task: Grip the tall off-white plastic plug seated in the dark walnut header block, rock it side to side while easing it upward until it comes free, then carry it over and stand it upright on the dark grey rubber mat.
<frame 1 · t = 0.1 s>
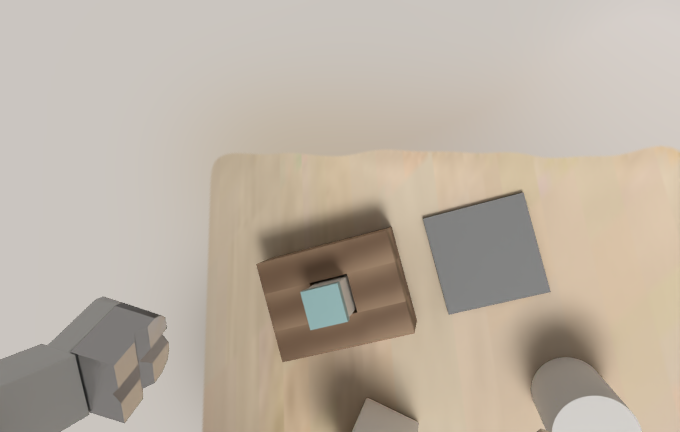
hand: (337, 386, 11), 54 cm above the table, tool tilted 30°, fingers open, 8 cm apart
mat: (485, 254, 63), on the table
header: (342, 288, 67), on the table
cup: (566, 390, 62), on the table
plug: (334, 296, 61), in the header
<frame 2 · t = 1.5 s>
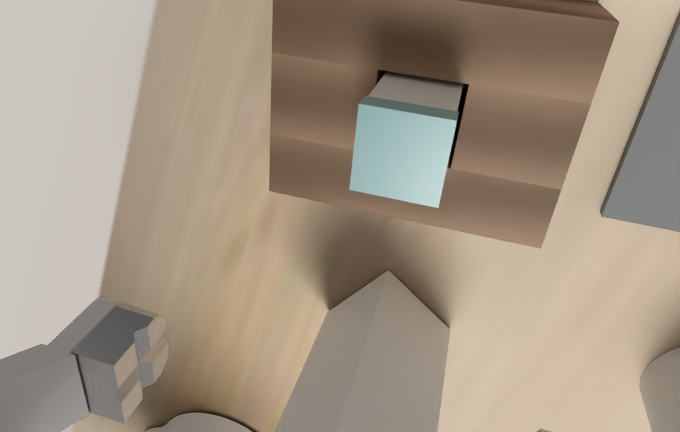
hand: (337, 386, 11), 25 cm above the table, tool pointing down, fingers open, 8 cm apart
milk carton: (388, 317, 42), on the table
header: (428, 88, 32), on the table
plug: (416, 117, 28), in the header
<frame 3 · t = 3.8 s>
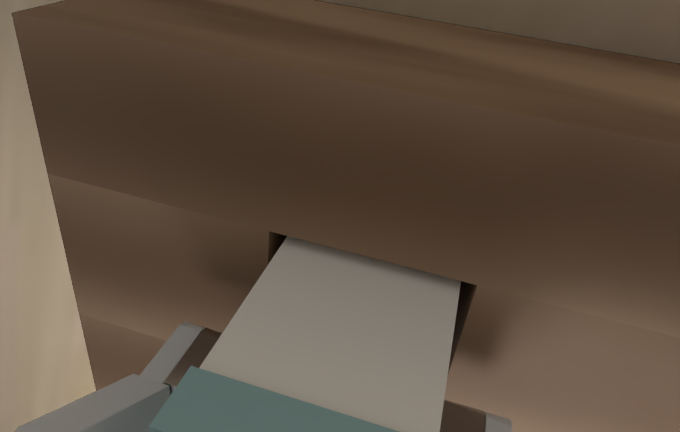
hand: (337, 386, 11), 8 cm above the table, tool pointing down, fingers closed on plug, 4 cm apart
header: (401, 209, 17), on the table
plug: (361, 319, 13), in the header, touching gripper
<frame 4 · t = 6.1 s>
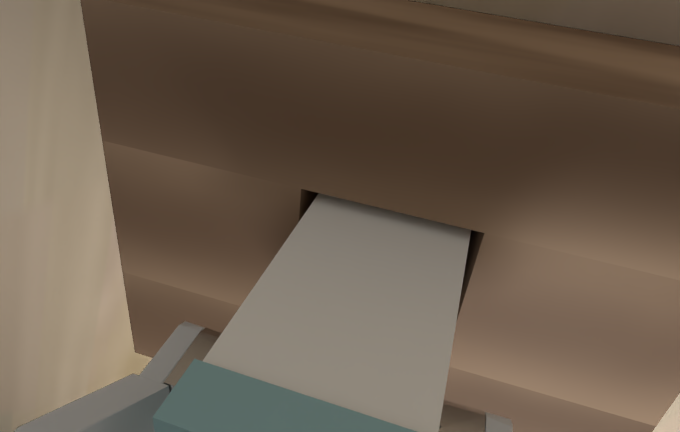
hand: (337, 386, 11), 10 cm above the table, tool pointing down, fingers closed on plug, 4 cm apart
header: (412, 181, 19), on the table
plug: (364, 316, 13), point 7 cm above the table, touching gripper
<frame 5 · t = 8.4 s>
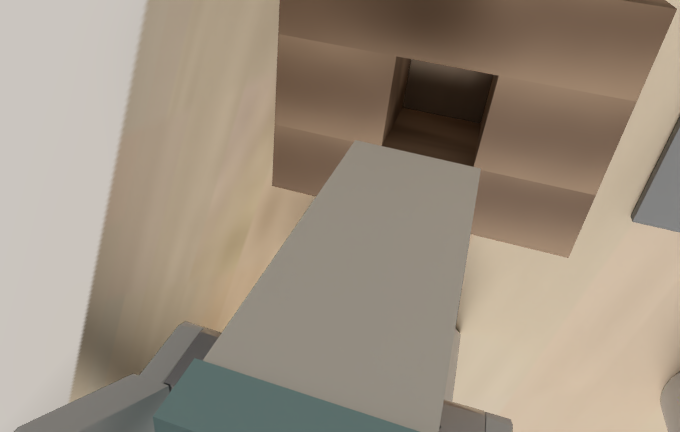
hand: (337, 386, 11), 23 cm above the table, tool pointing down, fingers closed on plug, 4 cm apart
milk carton: (395, 318, 40), on the table
header: (449, 77, 30), on the table
plug: (364, 316, 13), point 20 cm above the table, touching gripper
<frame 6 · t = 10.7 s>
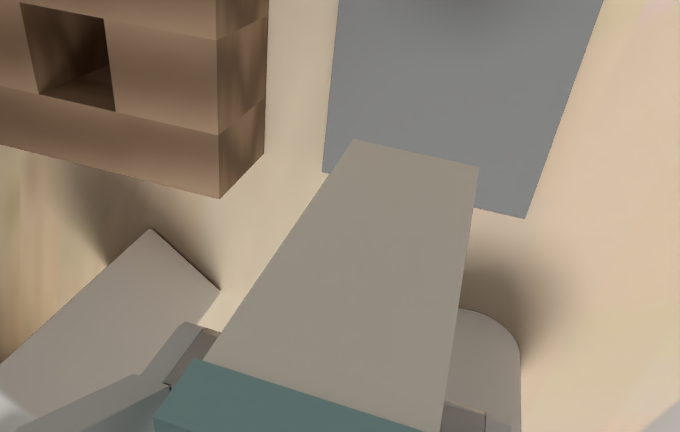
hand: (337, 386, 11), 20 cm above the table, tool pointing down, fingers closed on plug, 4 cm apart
mat: (443, 92, 28), on the table
milk carton: (165, 278, 41), on the table
header: (139, 32, 31), on the table
cup: (459, 351, 37), on the table
plug: (363, 315, 13), point 18 cm above the table, touching gripper
when the fingers open (10 cm above the table, at t = 12.8 s): plug drops 1 cm, resting on mat.
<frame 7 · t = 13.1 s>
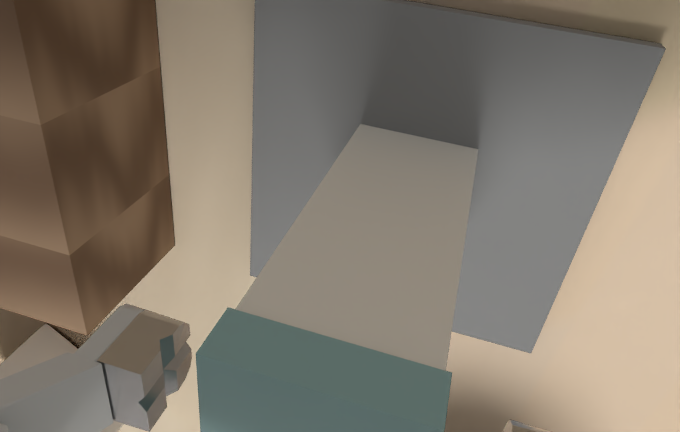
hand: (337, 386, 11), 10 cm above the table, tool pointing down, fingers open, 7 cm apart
mat: (412, 180, 19), on the table
milk carton: (74, 378, 33), on the table
plug: (372, 282, 14), on the mat, point 6 cm above the table
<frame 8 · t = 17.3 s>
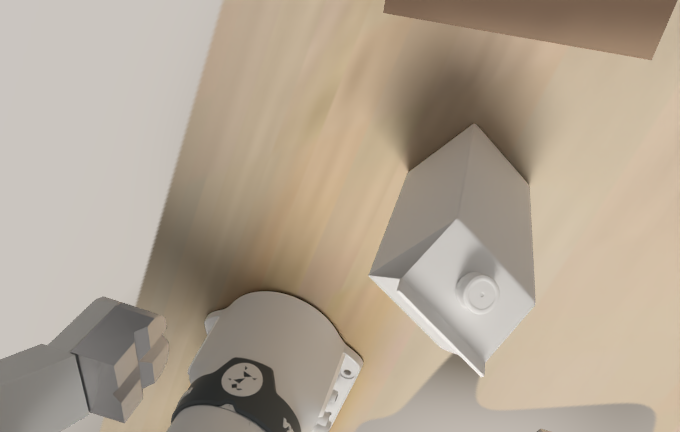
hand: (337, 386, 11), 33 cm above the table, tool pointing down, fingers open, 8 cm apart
milk carton: (467, 177, 44), on the table
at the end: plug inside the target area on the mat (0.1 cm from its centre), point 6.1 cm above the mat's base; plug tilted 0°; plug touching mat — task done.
